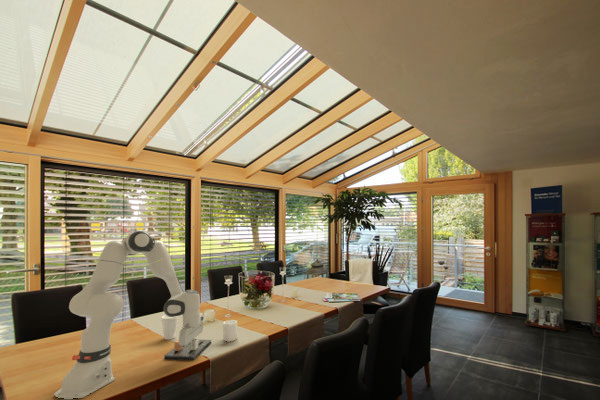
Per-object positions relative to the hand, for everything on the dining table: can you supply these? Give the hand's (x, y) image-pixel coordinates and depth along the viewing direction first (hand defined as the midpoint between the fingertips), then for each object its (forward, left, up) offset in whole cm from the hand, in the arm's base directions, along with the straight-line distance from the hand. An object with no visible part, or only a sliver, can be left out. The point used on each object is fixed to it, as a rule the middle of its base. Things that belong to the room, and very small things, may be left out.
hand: (191, 347), depth 163 cm
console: (+6, +4, -4) cm, 8 cm away
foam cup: (+24, +26, -4) cm, 36 cm away
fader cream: (+4, 0, -3) cm, 5 cm away
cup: (+26, -12, -4) cm, 29 cm away
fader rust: (+2, +8, -3) cm, 9 cm away
